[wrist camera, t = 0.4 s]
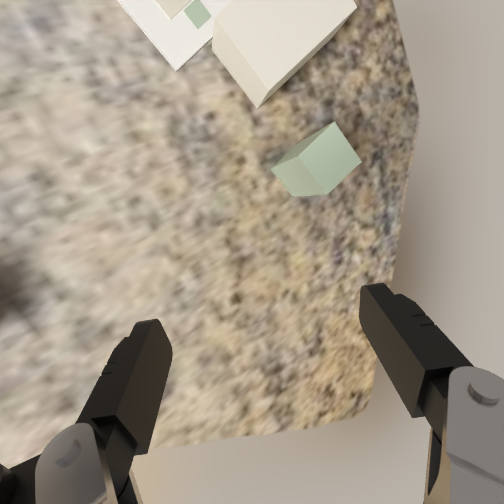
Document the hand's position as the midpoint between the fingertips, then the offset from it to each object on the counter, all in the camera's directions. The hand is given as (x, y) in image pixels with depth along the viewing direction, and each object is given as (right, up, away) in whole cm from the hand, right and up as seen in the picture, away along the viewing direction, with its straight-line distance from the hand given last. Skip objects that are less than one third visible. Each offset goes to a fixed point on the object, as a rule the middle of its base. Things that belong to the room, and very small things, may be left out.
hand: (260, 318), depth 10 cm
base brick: (+2, +26, +18) cm, 32 cm away
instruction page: (-7, +28, +16) cm, 33 cm away
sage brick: (+5, +13, +22) cm, 26 cm away
